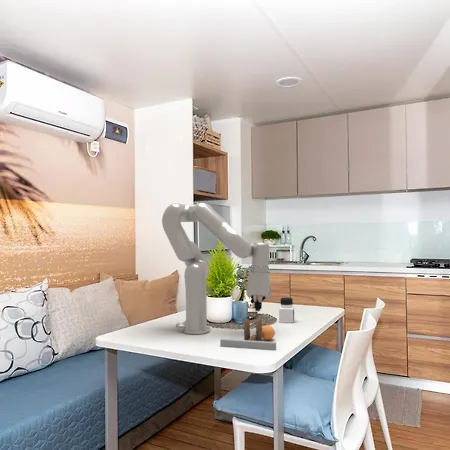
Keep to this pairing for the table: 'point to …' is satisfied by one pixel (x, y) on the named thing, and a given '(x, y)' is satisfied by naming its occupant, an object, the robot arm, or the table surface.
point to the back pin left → (246, 329)
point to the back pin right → (258, 330)
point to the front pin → (252, 338)
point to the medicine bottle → (286, 310)
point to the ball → (267, 332)
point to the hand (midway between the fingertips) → (257, 310)
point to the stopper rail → (248, 344)
